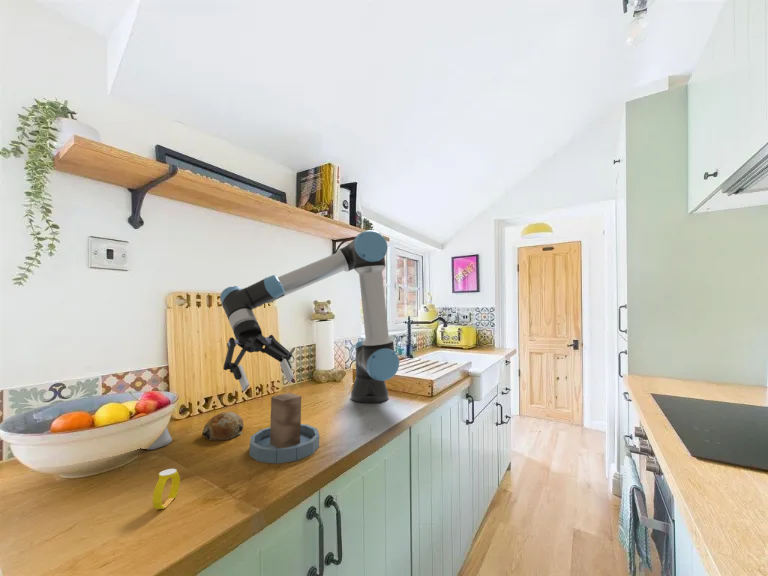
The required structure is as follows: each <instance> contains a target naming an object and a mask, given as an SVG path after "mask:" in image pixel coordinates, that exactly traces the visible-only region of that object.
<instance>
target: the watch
mask: <svg viewBox="0 0 768 576" xmlns="http://www.w3.org/2000/svg"><path fill="white" fill-rule="evenodd" d="M168 479H171V486H170V490H169V493H168V496H167V498H168V499H169V498H175V499H176V497H177V495H178V492H179V488H180V483H181V480H180V479H181V477H180V474H179V472H178V471H177V468H168V469H164V470H162V471H160V472H159V473H158V480H157V482H156V485H155V487H154V489H153V494H152V505H153V508H154V509H156V510H157V509H164V508H165V507H164V506H163V505H162V503H163V501H162V497H163V491H164V488H165V485H166V483H167V481H168ZM167 498H166V499H167Z"/></svg>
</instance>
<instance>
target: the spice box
mask: <svg viewBox="0 0 768 576" xmlns="http://www.w3.org/2000/svg"><path fill="white" fill-rule="evenodd" d="M301 419H302V396H301V395H298V394H294V393H291V392H286V393H282V394H278V395H272V396H270V426H269V427H270V444H272V445H274V446H275V447H277V448H286V447H290V446H293V445H296V444H299V443H300V432H301V424H302V420H301Z"/></svg>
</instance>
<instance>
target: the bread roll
mask: <svg viewBox="0 0 768 576" xmlns="http://www.w3.org/2000/svg"><path fill="white" fill-rule="evenodd" d="M243 430H244V421H243V418H242V417H241V416H240V414H238V413H236V412H234V411H226V412H225V411H224V412H221V413H218V414H216V415H214V416H212V417H211V418H210V419H209V420H208V421H207V422H206V423H205V425H204V427H203V429H202V432H201V434H202V436H203V437H205V439H206V440H209V441H218V442H219V441H225V440H230V438H231V439H234V438H237V437H239V436H241V435H242V434H243Z"/></svg>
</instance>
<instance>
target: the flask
mask: <svg viewBox="0 0 768 576" xmlns="http://www.w3.org/2000/svg"><path fill="white" fill-rule="evenodd" d="M172 441H173V439H172V436H171V434H170V431H169V429H168V427H166V429H165V430H164V432H163V433H162V435H161V436H160V437H159V438H158V439H157V440H156V441H155V442H154V443H153V444H152V445H151V446H150V447H149V448H148V449H147V450H156V449H159V448H162V447H165V446H168V445H169V444H170V443H171V442H172Z"/></svg>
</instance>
